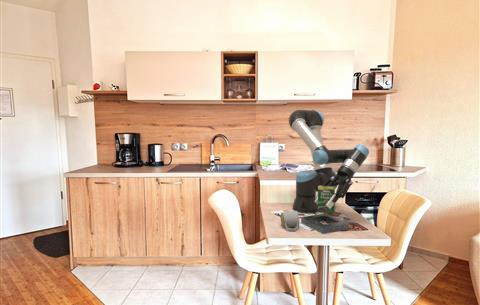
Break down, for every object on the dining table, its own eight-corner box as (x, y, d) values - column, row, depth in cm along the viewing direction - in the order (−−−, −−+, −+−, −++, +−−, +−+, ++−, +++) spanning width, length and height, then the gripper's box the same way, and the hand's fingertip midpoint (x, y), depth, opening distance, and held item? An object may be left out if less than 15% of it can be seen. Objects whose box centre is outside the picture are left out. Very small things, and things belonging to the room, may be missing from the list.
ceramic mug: (279, 223, 129) (279, 209, 129) (295, 223, 130) (296, 208, 129) (284, 232, 119) (284, 216, 118) (301, 231, 119) (302, 215, 119)
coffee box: (317, 212, 126) (317, 186, 125) (317, 210, 128) (318, 185, 128) (334, 214, 122) (335, 187, 122) (334, 212, 125) (335, 186, 124)
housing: (301, 222, 131) (301, 217, 131) (325, 218, 137) (325, 213, 137) (323, 234, 116) (323, 227, 116) (349, 228, 123) (349, 222, 122)
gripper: (368, 177, 122) (342, 215, 116) (336, 172, 140) (312, 204, 135) (360, 167, 119) (333, 205, 114) (329, 163, 138) (304, 195, 132)
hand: (322, 204), depth 124 cm, fingers closed on coffee box, 7 cm apart
